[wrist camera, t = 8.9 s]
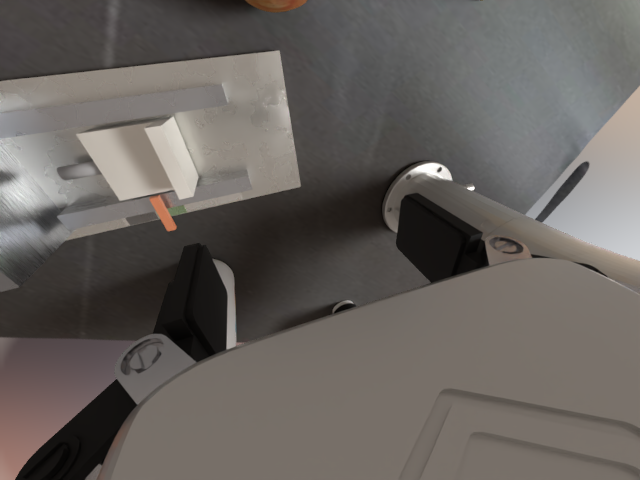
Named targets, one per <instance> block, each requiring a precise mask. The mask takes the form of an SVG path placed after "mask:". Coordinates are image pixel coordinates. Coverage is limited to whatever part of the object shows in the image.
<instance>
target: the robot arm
mask: <svg viewBox="0 0 640 480" xmlns="http://www.w3.org/2000/svg"><path fill="white" fill-rule="evenodd" d="M473 190H474V185H473V184H472V183H469V184H465V185H463V186H462V185H460V184H458V183H456V182H454V181H452V177H451V173H450V172H449V170H448V169H447V168H446V167H445V166H444V165H442V164H440V163H437V162H433V161H423V162H419V163H416V164H414V165H412V166H410V167H409V168H407V169H406V170H404V171H403V172H402V173H401V174H400V175H398V177H397V178H396V179H395V180H394V181H393V182H392V184H391V186H390V187H389V189H388V191H387V193H386V195H385V198H384V201H383V206H382V215H383V219H384V222H385V223H386V225H387V226H388V227H389V228H390V229H391V230H393V231H394V232H396V233H397V239H396V245H397V248H398V249H399V250H400V251H401V252H402V253H403V254H404V255H405V256H406V257H407V258H408V259H409V260H410V261H411V262H412V264H413V265H414V266H415V267H416V268H417V269H418V270H419V271H420V272H421V273H422V274H423V275H424V276H425V277H426V278H427V279H428V280H429V281H430V282H431V283H430V284H426V285H423V286H420V287H417V288H413V289H410V290H407V291H404V292H401V293H398V294H394V295H391V296H388V297H385V298H382V299H379V300H375V301H372V302H369V303H366V304H363V305H360V306H357V307H353V308H350V309H347V310H344V311H341V312H338V313H335V314H332V315H328V316H325V317H322V318H319V319H316V320H313V321H310V322H307V323H304V324H301V325H297V326H294V327H291V328H288V329H285V330H282V331H279V332H276V333H273V334H270V335H267V336H264V337H261V338H258V339H255V340H252V341H249V342H247V343H244V344H241V345H238V346H235V347H233V348H230V349H227V350H226V348H227V306H228V294H227V290H226V288H225V285H224V283H223V281H222V279H221V277H220V275H219V272H218V270H217V268H216V266H215V264H214V262H213V259H212V257H211V255H210V253H209V251H208V249H207V247H206V245H203V246H201V244H200V243H197V244H193V245H188V246H185V247H184V249H183V252H182V255H181V259H180V262H179V266H178V269H177V273H176V276H175V279H174V281H171V282H170V283H169V285H168V287H167V291H166V294H165V297H164V300H163V303H162V306H161V310H160V313H159V316H158V319H157V322H156V326H155V329H154V332H153V334H152V335H148V336H145V337H143V338H141V339H139V340H138V341H136V342H134V343H133V344H132V345H131V346H129V347H128V348H127V349H126V350H125V351H124V352H123V353H122V355H121V356H120V357H119V359H118V361H117V363H116V365H115V369H114V374H115V376H116V378H117V379H116V380H115V381H114V382H113V383H112V384H111V385H109V386H108V387H107V388H106V389H105V390H104V391H103V392H102V393H101V394H100V395H98V396H97V397H96V398H95V399H94V400H93V401H92V402H91V403H89V404H88V405H87V406H86V407H85V408H84V409H83V410H82V411H81V412H80V413H78V414H77V415H76V416H75V417H74V418H73V419H72V420H71V421H69V423H67V424H66V425H65V426H64V427H63V428H62V429H61V430H59V431H58V432H57V433H56V434H55V435H54V436H53V437H52V438H51V439H49V440H48V441H47V442H46V443H45V444H44V445H43V446H42V447H41V448H39V449H38V451H37V452H36V453H35V454H34V455H33V456H32V457H31V458H30V459H29V460H28V461H27V463H26V464H25V465H24V466H23V468H22V469H21V471H20V472H19V474H18V476H17V477H16V479H15V480H640V261H638V260H635V259H632V258H628V257H626V256H623V255H620V254H617V253H614V252H612V251H609V250H606V249H604V248H600V247H598V246H595V245H592V244H590V243H587V242H585V241H582V240H580V239H577V238H575V237H573V236H570V235H568V234H566V233H564V232H561V231H559V230H557V229H554V228H552V227H549V226H547V225H545V224H543V223H541V222H539V221H537V220H534V219H532V218H530V217H527V216H525V215H523V214H521V213H519V212H517V211H515V210H512V209H510V208H508V207H506V206H504V205H502V204H499V203H497V202H495V201H493V200H491V199H489V198H487V197H484V196H482V195H480V194H478V193H476V192H474V191H473Z"/></svg>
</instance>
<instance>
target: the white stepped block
mask: <svg viewBox="0 0 640 480" xmlns="http://www.w3.org/2000/svg"><path fill="white" fill-rule="evenodd" d="M76 135H77V137H78V138H79V140H80V141H81V143H82V144H83V146H84V147H85V149H86V150H87V152H88V153H89V155H90V156H91V158H92V159H93V161H90V162H84V163H78V164H73V165H67V166H61V167H58V168H57V173H58V175H59V176H60V177H61V178H62V179H63V180H72V179H77V178H83V177H88V176H93V175H99V174H102V175H103V176H104V178H105V179H106V181H107V182H108V184H109V185H110V187H111V188H112V190H113V191H114V193H115V194H116V196H117V197H118V199H119V200H120V201H122V200H127V199H131V198H136V197H141V196H146V195H151V194H155V193H160V192H165V191H170V190H175V192H176V194H177V196H178V198H179V200H180V199H185V198H189V197H193V196H194V192H195V189H196V185H197V181H198V177H199V176H198V174H197V171H196V169H195V167H194V164H193V162H192V159H191V157H190V155H189V152H188V150H187V147H186V145H185V143H184V140H183V138H182V136H181V133H180V131H179V128H178V126H177V124H176V121H175V119H174V116H171V117H165V118H158V119H151V120H145V121H138V122H132V123H125V124H118V125H112V126H105V127H98V128H92V129H88V130H86V131H83V132H80V133H78V134H76ZM149 200H150V202H151V203H152V205H153V207H154V209H155V210H156V212H157V214H158V215H159V217H160V219H161V221H162V222H163V224H164V226H165V227H166V229H167V231H172V230H176V228H177V226H176V224H175V223H174V221H173V219H172V217H171V215H170V213H169V212H168V210H167V208H166V206H165V204H164V202H163V201H162V199H161V197H160V195H156V196H151V197H150V198H149Z"/></svg>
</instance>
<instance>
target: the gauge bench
mask: <svg viewBox="0 0 640 480" xmlns="http://www.w3.org/2000/svg"><path fill="white" fill-rule="evenodd" d="M171 116H174V119H175V121H176V124H177V126H178V128H179V131H180V133H181V136H182V138H183V140H184V143H185V145H186V147H187V150H188V152H189V155H190V157H191V159H192V162H193V164H194V167H195V169H196V171H197V174H198V176H199V177H198V181H197V185H196V189H195V192H194V196H193V197H189V198H185V199H180V200H179V198H178V196H177V194H176V192H175V190H170V191H165V192H160V193H155V194H151V195H146V196H141V197H136V198H131V199H127V200H122V201H120V200H119V199H118V197H117V196H116V194H115V193H114V191H113V190H112V188H111V187H110V185H109V184H108V182H107V181H106V179H105V178H104V176H103V175H102V174H99V175H93V176H88V177H83V178H77V179H72V180H63V179H62V178H61V177H60V176H59V175H58V173H57V168H58V167H61V166H67V165H73V164H78V163H84V162H90V161H93V159H92V158H91V156H90V155H89V153H88V152H87V150H86V149H85V147H84V146H83V144H82V143H81V141H80V140H79V138H78V137H77V135H76V134H78V133H80V132H83V131H86V130H88V129H92V128H98V127H105V126H112V125H118V124H125V123H132V122H138V121H145V120H151V119H158V118H165V117H171ZM298 187H301V184H300V178H299V171H298V165H297V159H296V152H295V146H294V140H293V134H292V127H291V121H290V115H289V108H288V102H287V96H286V89H285V83H284V77H283V70H282V64H281V58H280V51H271V52H262V53H252V54H243V55H234V56H225V57H216V58H207V59H198V60H188V61H179V62H170V63H161V64H152V65H143V66H134V67H125V68H115V69H106V70H97V71H88V72H79V73H70V74H61V75H51V76H42V77H33V78H24V79H15V80H6V81H0V292H2V291H6V290H10V289H14V288H18V287H20V286H21V285H22V284H23V283H24V282H25V281H26V280H27V279H28V278H29V277H30V276H31V275H32V274H33V273H34V272H35V271H36V270H37V269H38V268H39V267H40V266H41V265H42V264H43V263H44V262H45V261H46V260H47V259H48V258H49V257H50V256H51V255H52V254H53V252H54V251H55V250H56V249H57V248H58V247H59V246H60V245H61V244H62V243H63V242H64V241H66V240H70V239H74V238H79V237H83V236H88V235H92V234H96V233H101V232H105V231H109V230H114V229H118V228H123V227H127V226H131V225H136V224H140V223H144V222H149V221H153V220H158V219H160V217H159V215H158V214H157V212H156V210H155V209H154V207H153V205H152V203H151V202H150V200H149V198H150V197H151V196H156V195H160V197H161V199H162V201H163V202H164V204H165V206H166V208H167V210H168V212H169V213H170V215H171V216H175V215H180V214H184V213H188V212H193V211H197V210H201V209H206V208H210V207H215V206H219V205H223V204H228V203H232V202H236V201H241V200H245V199H250V198H254V197H258V196H263V195H267V194H271V193H276V192H280V191H285V190H289V189H293V188H298Z"/></svg>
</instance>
